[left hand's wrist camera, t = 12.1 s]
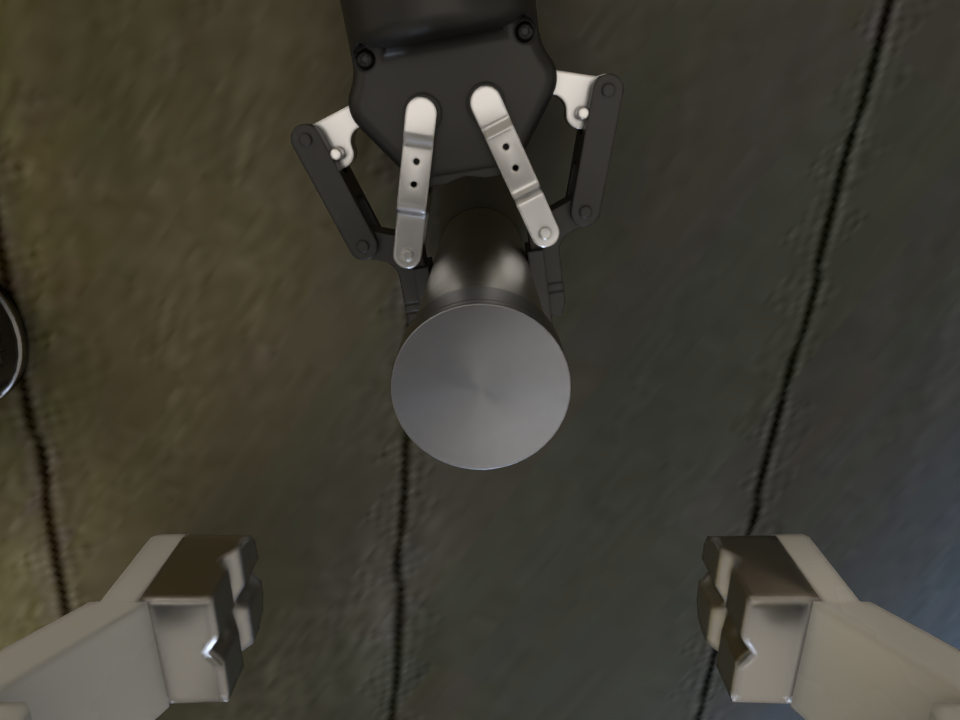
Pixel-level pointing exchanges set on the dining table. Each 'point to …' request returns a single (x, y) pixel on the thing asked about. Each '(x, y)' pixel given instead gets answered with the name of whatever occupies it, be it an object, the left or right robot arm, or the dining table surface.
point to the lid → (480, 379)
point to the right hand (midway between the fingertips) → (490, 330)
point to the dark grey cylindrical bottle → (480, 257)
